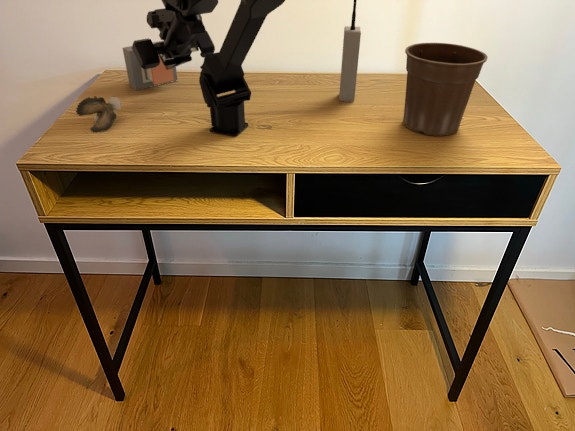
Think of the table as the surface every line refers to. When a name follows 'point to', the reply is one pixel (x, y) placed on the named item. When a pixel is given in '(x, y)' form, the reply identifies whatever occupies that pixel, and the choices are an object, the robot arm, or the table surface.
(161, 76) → the plunger
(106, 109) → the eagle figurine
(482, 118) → the table surface
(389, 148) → the table surface
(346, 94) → the vintage mobile phone
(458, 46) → the plant pot
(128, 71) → the box
